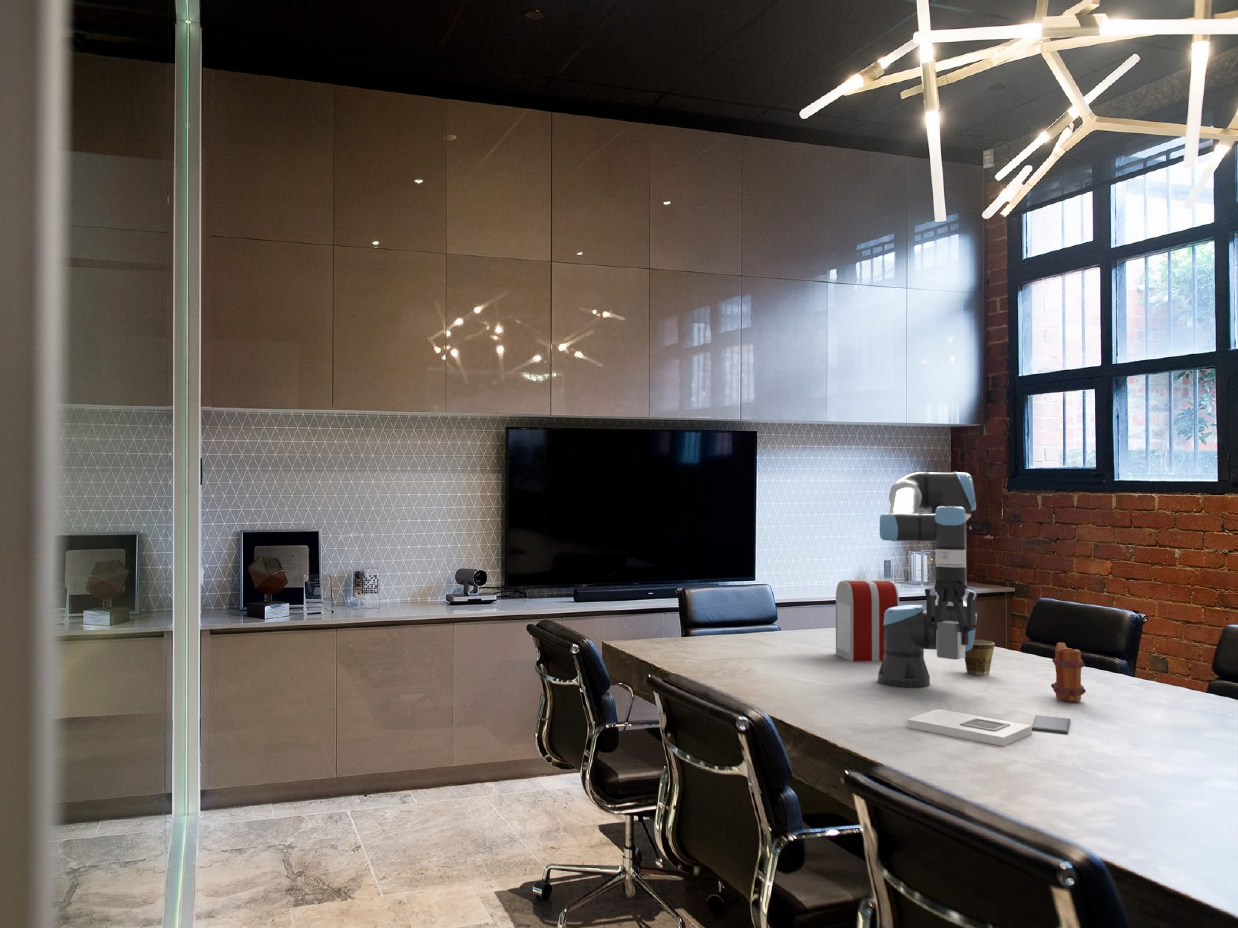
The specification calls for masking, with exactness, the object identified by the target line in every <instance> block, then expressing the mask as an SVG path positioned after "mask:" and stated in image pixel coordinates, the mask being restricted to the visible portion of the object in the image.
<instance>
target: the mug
mask: <svg viewBox="0 0 1238 928" xmlns="http://www.w3.org/2000/svg"><path fill="white" fill-rule="evenodd" d="M1054 652H1055V653H1054V655H1055V656H1054V658H1053V659H1051V660H1052V663H1053V664H1054V668H1055V677H1056V678H1055V682H1054V683H1051V684H1050V687H1051V688H1052V690H1053V692H1054V693H1055V699H1057V700H1058V701H1061V702H1070V703H1076V702H1080V701H1081V700H1082V696H1083V695H1084V694H1085V693H1086V692H1087V690H1086V688H1085V687H1084V686H1083V684H1082V668H1084V667H1086V664H1085V663H1084V660H1083V659H1082V655H1081V650H1080V649H1077V648H1076V649H1073V648H1071V647H1070V648H1069V647H1068V646H1067V645H1066V643H1065V642H1057V643H1056V645H1055V650H1054Z"/></svg>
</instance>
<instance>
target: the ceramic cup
mask: <svg viewBox="0 0 1238 928" xmlns="http://www.w3.org/2000/svg"><path fill="white" fill-rule="evenodd" d="M994 650H995V642H993V641H990V640H984V639H983V640H982V639H974V643H973V647H972V649H971V650H969V651H965V658H964V661H965V667H966V673H967V674H969V675H973V676H988V675H990V671H991V665H992V658H993V654H994Z"/></svg>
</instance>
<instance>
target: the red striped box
mask: <svg viewBox="0 0 1238 928" xmlns="http://www.w3.org/2000/svg"><path fill="white" fill-rule="evenodd" d="M899 596H900V595H899V591H898V588H897V585H896V584H895V583H894V582H892V581H890V580H889V579H846V580H845V579H844V580H840V581H839V582H838V584H837V585H836V592H835V654H836V655H837V656H839V657H842V658H843V659H845V660H846V661H849V662H855V663H856V662H882V661H883V658H884V625H883V623H884V613H885V611H886V610H887V609H889V608H892V607H897V606H900V597H899Z"/></svg>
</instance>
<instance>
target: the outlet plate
mask: <svg viewBox="0 0 1238 928" xmlns="http://www.w3.org/2000/svg"><path fill="white" fill-rule="evenodd" d="M906 720H907V721H906V722H907V725H906V726H907V728H909V729H914V730H920V731H925V732H930V733H933V734H934V733H935V734H939V735H944V736H949V737H955V738H959V739H966V740H970V741H974V742H981V743H986V744H991V745H995V746H996V745H997V746H1001V747H1006V746H1008V745H1010V744H1012V743H1014V742H1016V741H1019V740H1021V739H1025V738H1027V737H1029V736H1030V735H1032V734H1033V730H1032V725H1031V724H1026V723H1020V722H1019V723H1018V722H1015V721H1014V722H1013V721H1010V720H1009V721H1007V720H1003V719H997V718H991V717H987V716H986V717H985V716H979V715H975V714H974V715H973V714H969V713H964V712H963V713H962V712H957V711H951V710H947V709H941V708H937V709H934V710H931V711H927V712H924V713H922V714H919V715H916V716H913V717H910V718H907V719H906Z"/></svg>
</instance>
